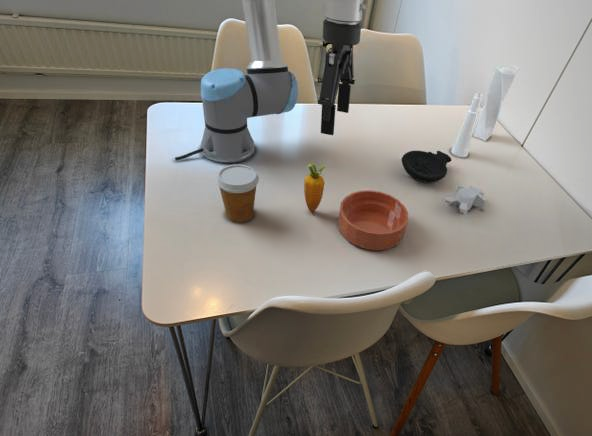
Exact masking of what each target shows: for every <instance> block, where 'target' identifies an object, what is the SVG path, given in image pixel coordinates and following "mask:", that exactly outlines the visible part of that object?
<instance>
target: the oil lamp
mask: <svg viewBox="0 0 592 436" xmlns="http://www.w3.org/2000/svg"><path fill="white" fill-rule="evenodd" d="M451 162H452V158H451V156H450V155H449V154H447V153H445V152H443V151H441V150H436V153H433V152H432V151H423V150H410V151H407V152H405V153H404V154H403V155H402V157H401V164H402V167H403V169H404V171H405V172H406V174H407V175H409V176H410V178H412V179H414V180H416V181H419V182H422V183H426V184H427V183H428V184H429V183H436V182H439V181H441V180H442V179H444V178H445V177H446V176H447V174H448V167H447V165H448V163H451Z"/></svg>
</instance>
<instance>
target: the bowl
mask: <svg viewBox="0 0 592 436" xmlns="http://www.w3.org/2000/svg"><path fill="white" fill-rule="evenodd" d="M408 222H409V211H408V210H407V207H406V206H405V205H404V204H403V203H402V202H401V200H399V199H398V198H396V197H394V196H393V195H391V194H389V193H385V192H383V191H379V190H378V191H377V190H370V189H367V190H357V191H354V192H351V193H349V194H347V195H346V196H344V198H343V199H342V200H341V202H340V205H339V214H338V220H337V227H338V230H339V233H340V234H341V235H342V237H344V239H345V240H346V241H348V242H350V243H351V244H353V245H354V246H357V247H359V248H362V249H365V250H372V251H381V250H388V249H391V248H393V247H396V246H397V245H398V244H399V243H400V242H402V240H403V238H404V237H405V234H406V230H407V226H408V224H409V223H408Z"/></svg>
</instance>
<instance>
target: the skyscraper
mask: <svg viewBox="0 0 592 436" xmlns="http://www.w3.org/2000/svg"><path fill="white" fill-rule="evenodd" d="M511 68H516V71H515V73H514V72H512V71H511ZM518 72H519V67H518V66H516V65H514V64H513V65H510V66H509V67H502V68H500V67H498V66H496V67H495V68H494V70H493V73H492V76H491V79H490V82H489V86H488V90H487V94H486V100H485V102H484V104H483V106H482V109H481V110H480V112H479V115H478V117H477V121H476V124H475V128H474V131H473V134H472V137H475V138H477V139H480V140H483V141H484V142H486V141H487V140H488V139H489V138H490V137H491V135H492V133H493V131H494V129H495V127H496V125H497V121H498V118H499V115H500V112H501V107H502V103H503V101H504V99H505V98H506V96H507V94H508V92H509V90H510V88H511V87H512V84H513V82H514V79H515V77H516V75H517V74H518Z"/></svg>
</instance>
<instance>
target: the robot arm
mask: <svg viewBox="0 0 592 436" xmlns="http://www.w3.org/2000/svg"><path fill="white" fill-rule="evenodd" d="M241 3H242V9H243V17H244V23H245V30H246V36H247V43H248V49H249V57H250V62H249V64H248V65H247V66H246V72H247V74H245V73H244V72H243V71H242V70H240V69H238V68H230V67H224V68H217V69H214V70H211V71H209V72H207V73H205V75H203V76H202V78H201V79H200V97H201V102H202V111H203V120H204V130H203V134H202V139H201V143H200V148H199V149H195V150H193V151H190V152H189V153H185V154H183V155H180V156H175V157H174V160H175V161H182V160H184V159H187V158H189V157H191V156H195V155H197V154H200V153H201V154H202V155H203V156H204V157H205V158H206V159H208V160H210V161H212V162H216V163H220V164H221V163H222V164H235V163H241V162H244V161H246V160H248V159H250V158H251V157H252V156H254V153H255V140H254V139H253V136H252V135H251V132H250V130H249V128H248V119H250V118H256V117H264V116H270V115H280V114H285V113H288V112H291V111H292V110H293V109H294V108H295V106H296V105H297V102H298V98H299V86H298V80H297V77H296V75H295V74H294V72H292V71H290V70H289V67H288V64H286V62H285V61H283V59H282V52H281V44H280V38H279V36H280V35H279V28H278V20H277V12H276V4H275V3H276V2H275V0H241ZM366 9H367V6H366V4H364V0H323V14H322V15H323V17H324V18H325V19H324V20H323V21H322V39H323V41H324V42H326V43H329V44H330V45H331V48H330V51H326V52H325V61H324V68H323V73H322V74H323V75H322V81H321V85H320V86H321V88H320V93H319V99H317V104H318V105H320V106H321V115H320V116H321V117H320V121H321V122H320V134H323V135H327V136H334V134H335V124H336V123H335V120H336V112H340V113H346V114H349V111H350V110H349V109H350V101H351V99H350V98H351V89H352V85H355V82H356V81H355V79H354V78H355V73H354V46H356V45H358V44H360V41H361V31H362V24H361V23H360V22H361V21H362V19H363V11H366ZM336 98H337V103H336ZM335 103H336V104H335ZM336 105H337V106H336Z"/></svg>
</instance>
